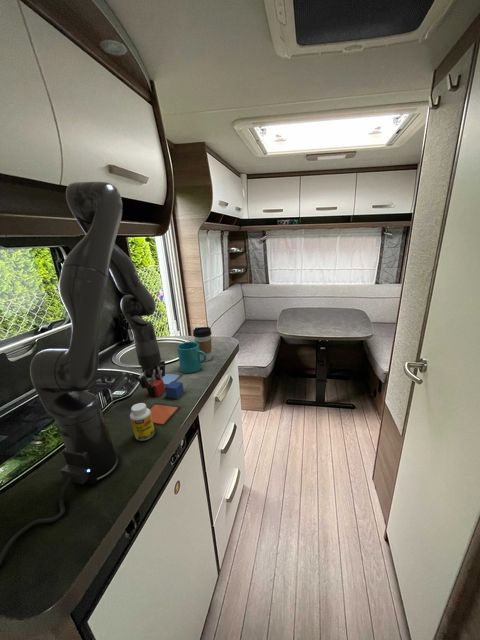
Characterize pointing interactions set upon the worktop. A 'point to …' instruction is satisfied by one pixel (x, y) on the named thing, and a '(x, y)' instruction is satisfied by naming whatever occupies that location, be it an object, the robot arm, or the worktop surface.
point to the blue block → (174, 390)
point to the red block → (158, 387)
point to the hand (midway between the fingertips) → (156, 391)
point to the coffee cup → (203, 341)
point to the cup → (190, 357)
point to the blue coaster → (169, 378)
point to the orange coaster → (161, 413)
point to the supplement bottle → (142, 422)
